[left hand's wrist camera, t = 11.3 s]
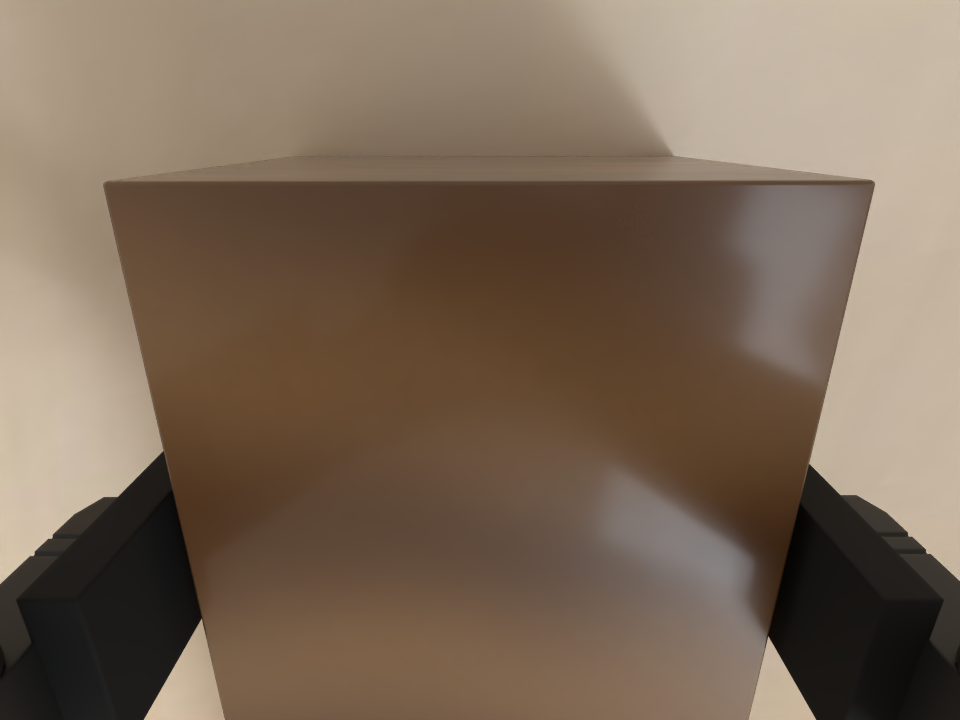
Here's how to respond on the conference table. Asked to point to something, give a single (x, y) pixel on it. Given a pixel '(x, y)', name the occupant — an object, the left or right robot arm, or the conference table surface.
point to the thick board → (488, 422)
